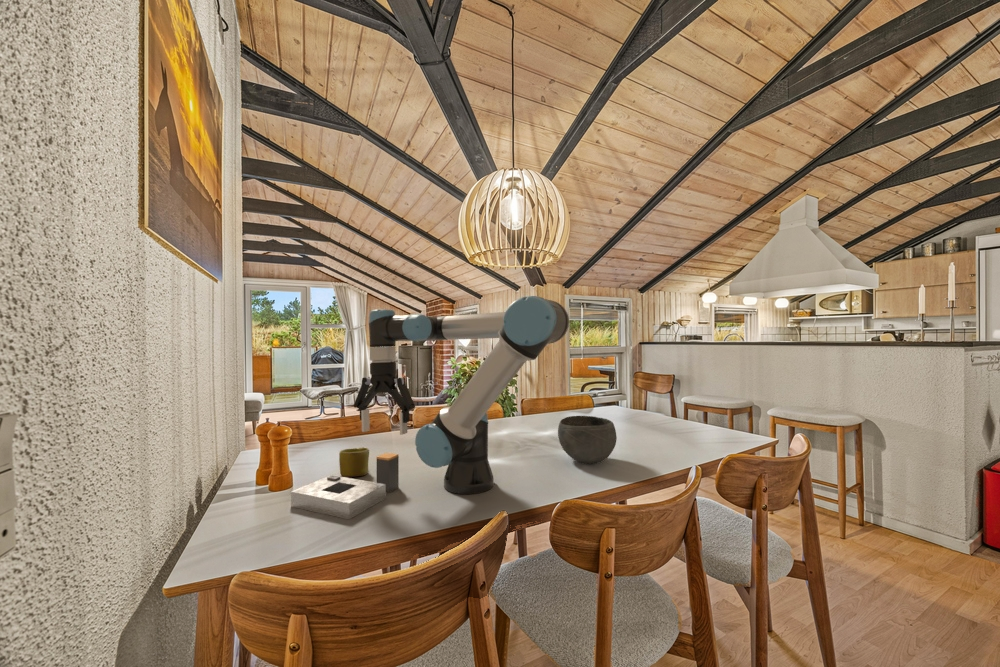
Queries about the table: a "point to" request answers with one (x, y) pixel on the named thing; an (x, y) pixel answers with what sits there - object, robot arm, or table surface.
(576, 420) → the bowl
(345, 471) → the mug
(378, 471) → the plug
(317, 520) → the table surface
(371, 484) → the socket plate
